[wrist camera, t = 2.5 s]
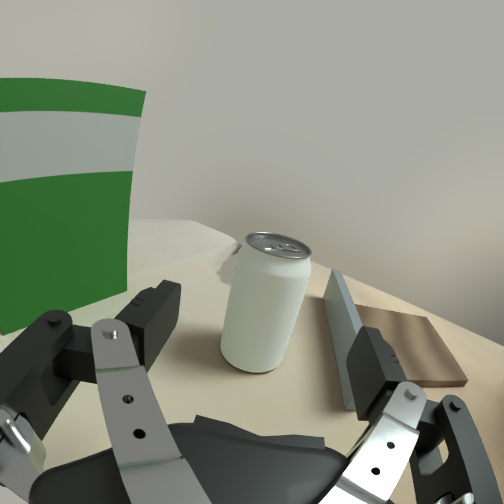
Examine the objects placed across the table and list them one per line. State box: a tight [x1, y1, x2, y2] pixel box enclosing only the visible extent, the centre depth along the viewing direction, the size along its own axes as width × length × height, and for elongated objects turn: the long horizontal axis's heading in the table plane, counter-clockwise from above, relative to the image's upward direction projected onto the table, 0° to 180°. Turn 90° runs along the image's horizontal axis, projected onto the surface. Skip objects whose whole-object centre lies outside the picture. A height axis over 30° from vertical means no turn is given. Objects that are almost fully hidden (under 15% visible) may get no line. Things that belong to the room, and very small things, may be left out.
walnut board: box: [355, 304, 468, 387], centre depth 32 cm, size 16×16×1 cm
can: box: [220, 232, 312, 373], centre depth 25 cm, size 6×6×12 cm
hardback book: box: [0, 78, 146, 335], centre depth 23 cm, size 18×7×24 cm, turn 148°
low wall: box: [323, 269, 363, 411], centre depth 31 cm, size 1×22×5 cm, turn 174°
